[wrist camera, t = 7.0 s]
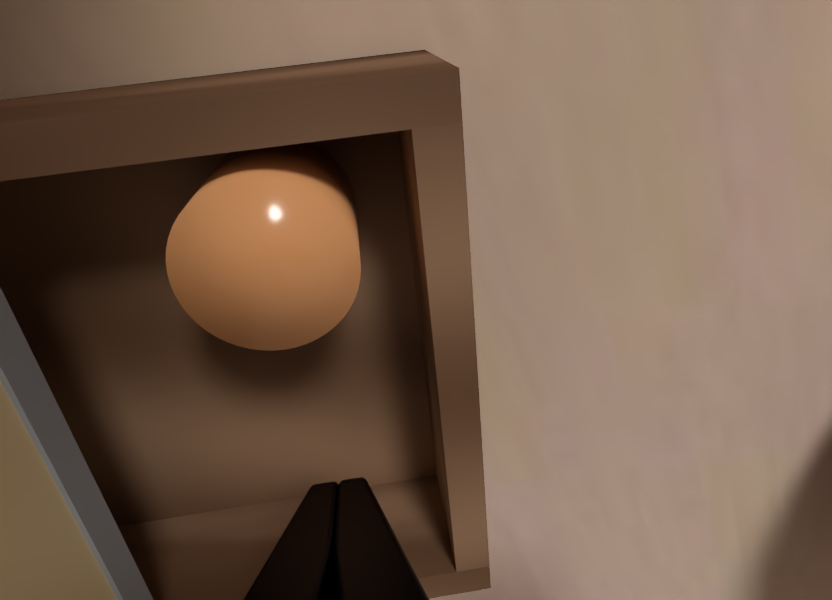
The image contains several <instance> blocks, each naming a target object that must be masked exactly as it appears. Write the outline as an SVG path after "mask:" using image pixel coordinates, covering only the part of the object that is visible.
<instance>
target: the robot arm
mask: <svg viewBox="0 0 832 600" xmlns="http://www.w3.org/2000/svg"><path fill="white" fill-rule="evenodd" d="M243 600H429V598H428V596H427V594H426V592H425V590H424V588H423V586H422V585H421V583H420V581H419V579H418V577H417V575H416V573H415V571H414V569H413V567H412V566H411V564H410V562H409V560H408V558H407V556H406V554H405V552H404V550H403V548H402V547H401V545H400V543H399V541H398V539H397V537H396V535H395V533H394V531H393V529H392V527H391V526H390V524H389V522H388V520H387V518H386V516H385V514H384V512H383V510H382V508H381V507H380V505H379V503H378V501H377V499H376V497H375V495H374V493H373V491H372V489H371V488H370V486H369V484H368V482H367V480H366V479H365V478H363V477H359V478H352V479H346V480H342V481H340V483H339V484H338V483H337V482H335V481H332V482H326V483H320V484H314V485H312V486H311V487H310V489H309V490H308V492H307V493H306V495H305V497H304V498H303V500H302V502H301V504H300V505H299V507H298V509H297V510H296V512H295V514H294V515H293V517H292V519H291V520H290V522H289V524H288V525H287V527H286V529H285V530H284V532H283V534H282V535H281V537H280V539H279V541H278V542H277V544H276V546H275V547H274V549H273V551H272V552H271V554H270V556H269V557H268V559H267V561H266V562H265V564H264V566H263V567H262V569H261V571H260V572H259V574H258V576H257V577H256V579H255V581H254V583H253V584H252V586H251V588H250V589H249V591H248V593H247V594H246V596H245V598H244V599H243Z"/></svg>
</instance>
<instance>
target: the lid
mask: <svg viewBox="0 0 832 600" xmlns="http://www.w3.org/2000/svg"><path fill="white" fill-rule="evenodd" d="M0 600H153V598H152V596H151V594H150V592H149V590H148V588H147V586H146V583H145V581H144V579H143V577H142V575H141V573H140V571H139V569H138V567H137V565H136V563H135V561H134V559H133V557H132V555H131V553H130V551H129V549H128V547H127V545H126V543H125V541H124V539H123V537H122V534H121V532H120V530H119V528H118V526H117V524H116V522H115V520H114V518H113V516H112V514H111V512H110V510H109V508H108V506H107V504H106V502H105V500H104V498H103V496H102V494H101V492H100V490H99V488H98V486H97V483H96V481H95V479H94V477H93V475H92V473H91V471H90V469H89V467H88V465H87V463H86V461H85V459H84V457H83V455H82V453H81V451H80V449H79V447H78V445H77V443H76V441H75V439H74V437H73V434H72V432H71V430H70V428H69V426H68V424H67V422H66V420H65V418H64V416H63V414H62V412H61V410H60V408H59V406H58V404H57V402H56V400H55V398H54V396H53V394H52V392H51V390H50V388H49V386H48V383H47V381H46V379H45V377H44V375H43V373H42V371H41V369H40V367H39V365H38V363H37V361H36V359H35V357H34V355H33V353H32V351H31V349H30V347H29V345H28V343H27V341H26V339H25V337H24V335H23V332H22V330H21V328H20V326H19V324H18V322H17V320H16V318H15V316H14V314H13V312H12V310H11V308H10V306H9V304H8V302H7V300H6V298H5V296H4V294H3V292H2V290H1V288H0Z"/></svg>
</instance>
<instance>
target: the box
mask: <svg viewBox="0 0 832 600" xmlns="http://www.w3.org/2000/svg"><path fill="white" fill-rule="evenodd" d="M308 142H309V143H311V144H313V145H315V146H317V147H319V148H320V149H322V150H323V151H325V152H326V153H327V154H329V155H330V156H331V157H332V158H333V159H334V160H335V161H336V162H337V163H338V164H339V165H340V167H341V168H342V169H343V171H344V172H345V174H346V175H347V177H348V179H349V181H350V183H351V186H352V189H353V191H354V196H355V200H356V211H357V224H358V237H359V249H360V262H361V276H360V283H359V288H358V292H357V294H356V297H355V300H354V302H353V304H352V306H351V308H350V309H349V311H348V312H347V314H346V315H345V316H344V318H343V319H342V320H341V321H340V322H339V323H338V324H337V325H336V326H335V327H334V328H333V329H332V330H330V331H329V332H328V333H326V334H325V335H323V336H322V337H320V338H318V339H316V340H314V341H312V342H310V343H308V344H305V345H302V346H299V347H295V348H290V349H285V350H275V351H268V350H255V349H248V348H244V347H240V346H236V345H234V344H231V343H228V342H226V341H224V340H222V339H219V338H217V337H215V336H214V335H212V334H211V333H209V332H207V331H206V330H205V329H203V328H202V327H201V326H200V325H198V324H197V323H196V322H195V321H194V320H193V319H192V318H191V317H190V316H189V315H188V314H187V313H186V311H185V310H184V309H183V307H182V306H181V305H180V303H179V301H178V300H177V298H176V296H175V295H174V292H173V290H172V287H171V285H170V282H169V278H168V275H167V269H166V246H167V241H168V237H169V234H170V231H171V228H172V226H173V224H174V222H175V220H176V219H177V217H178V215H179V214H180V212H181V211H182V210H183V209H184V207H185V206H186V205H187V203H188V202H189V201H190V200H191V198H192V197H193V196H194V194H195V193H196V192H197V191H198V189H199V188H200V187H201V185H202V184H203V183H204V181H205V180H206V179H207V178H208V176H209V175H210V174H211V172H212V171H213V170H214V169H215V167H216V166H217V165H218V163H219V162H220V161H221V160H222V158H223V157H224V156H225V155H226V154H227V153H229V152H237V151H244V150H252V149H260V148H268V147H276V146H284V145H292V144H300V143H308ZM0 288H1V290H2V292H3V294H4V296H5V298H6V300H7V302H8V304H9V306H10V308H11V310H12V312H13V314H14V316H15V318H16V320H17V322H18V324H19V326H20V328H21V330H22V332H23V335H24V337H25V339H26V341H27V343H28V345H29V347H30V349H31V351H32V353H33V355H34V357H35V359H36V361H37V363H38V365H39V367H40V369H41V371H42V373H43V375H44V377H45V379H46V381H47V383H48V386H49V388H50V390H51V392H52V394H53V396H54V398H55V400H56V402H57V404H58V406H59V408H60V410H61V412H62V414H63V416H64V418H65V420H66V422H67V424H68V426H69V428H70V430H71V432H72V434H73V437H74V439H75V441H76V443H77V445H78V447H79V449H80V451H81V453H82V455H83V457H84V459H85V461H86V463H87V465H88V467H89V469H90V471H91V473H92V475H93V477H94V479H95V481H96V483H97V486H98V488H99V490H100V492H101V494H102V496H103V498H104V500H105V502H106V504H107V506H108V508H109V510H110V512H111V514H112V516H113V518H114V520H115V522H116V524H117V526H118V528H119V530H120V532H121V534H122V537H123V539H124V541H125V543H126V545H127V547H128V549H129V551H130V553H131V555H132V557H133V559H134V561H135V563H136V565H137V567H138V569H139V571H140V573H141V575H142V577H143V579H144V581H145V583H146V586H147V588H148V590H149V592H150V594H151V596H152V598H153V600H243V599H244V598H245V596H246V594H247V593H248V591H249V589H250V588H251V586H252V584H253V583H254V581H255V579H256V577H257V576H258V574H259V572H260V571H261V569H262V567H263V566H264V564H265V562H266V561H267V559H268V557H269V556H270V554H271V552H272V551H273V549H274V547H275V546H276V544H277V542H278V541H279V539H280V537H281V535H282V534H283V532H284V530H285V529H286V527H287V525H288V524H289V522H290V520H291V519H292V517H293V515H294V514H295V512H296V510H297V509H298V507H299V505H300V504H301V502H302V500H303V498H304V497H305V495H306V493H307V492H308V490H309V489H310V487H311V486H312V485H314V484H320V483H326V482H332V481H335V482H337V483H338V484H339V483H340V481H342V480H346V479H352V478H359V477H363V478H365V479H366V480H367V482H368V484H369V486H370V488H371V489H372V491H373V493H374V495H375V497H376V499H377V501H378V503H379V505H380V507H381V508H382V510H383V512H384V514H385V516H386V518H387V520H388V522H389V524H390V526H391V527H392V529H393V531H394V533H395V535H396V537H397V539H398V541H399V543H400V545H401V547H402V548H403V550H404V552H405V554H406V556H407V558H408V560H409V562H410V564H411V566H412V567H413V569H414V571H415V573H416V575H417V577H418V579H419V581H420V583H421V585H422V586H423V588H424V590H425V592H426V594H427V596H428V598H435V597H440V596H446V595H452V594H458V593H463V592H469V591H475V590H481V589H487V588H491V586H490V570H489V553H488V537H487V520H486V504H485V487H484V471H483V454H482V438H481V422H480V405H479V389H478V372H477V356H476V339H475V323H474V306H473V290H472V274H471V257H470V241H469V224H468V208H467V191H466V175H465V158H464V142H463V126H462V109H461V93H460V76H459V68H458V67H456V66H454V65H452V64H450V63H448V62H446V61H445V60H443V59H441V58H439V57H437V56H435V55H433V54H431V53H429V52H428V51H426V50H420V51H411V52H403V53H394V54H386V55H377V56H369V57H361V58H352V59H344V60H335V61H327V62H318V63H310V64H302V65H293V66H285V67H276V68H268V69H259V70H251V71H243V72H234V73H226V74H217V75H209V76H201V77H192V78H184V79H175V80H167V81H158V82H150V83H142V84H133V85H125V86H116V87H108V88H99V89H91V90H83V91H74V92H66V93H57V94H49V95H40V96H32V97H24V98H15V99H7V100H0Z"/></svg>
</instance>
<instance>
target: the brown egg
mask: <svg viewBox="0 0 832 600" xmlns="http://www.w3.org/2000/svg"><path fill="white" fill-rule="evenodd" d="M166 269H167V275H168V278H169V282H170V285H171V287H172V290H173V292H174V295H175V296H176V298H177V300H178V301H179V303H180V305H181V306H182V307H183V309H184V310H185V311H186V313H187V314H188V315H189V316H190V317H191V318H192V319H193V320H194V321H195V322H196V323H197V324H198V325H200V326H201V327H202V328H203V329H205V330H206V331H207V332H209V333H211V334H212V335H214V336H215V337H217V338H219V339H222V340H224V341H226V342H228V343H231V344H234V345H236V346H240V347H244V348H248V349H255V350H268V351H275V350H285V349H290V348H295V347H299V346H302V345H305V344H308V343H310V342H312V341H314V340H316V339H318V338H320V337H322V336H323V335H325V334H326V333H328V332H329V331H330V330H332V329H333V328H334V327H335V326H336V325H337V324H338V323H339V322H340V321H341V320H342V319H343V318H344V316H345V315H346V314H347V312H348V311H349V309H350V308H351V306H352V304H353V302H354V300H355V297H356V294H357V292H358V288H359V283H360V276H361V262H360V249H359V237H358V224H357V211H356V200H355V196H354V191H353V189H352V186H351V183H350V181H349V179H348V177H347V175H346V174H345V172H344V171H343V169H342V168H341V167H340V165H339V164H338V163H337V162H336V161H335V160H334V159H333V158H332V157H331V156H330V155H329V154H327V153H326V152H325V151H323V150H322V149H320V148H319V147H317V146H315V145H313V144H311V143H309V142H308V143H300V144H292V145H284V146H276V147H268V148H260V149H252V150H244V151H237V152H229V153H227V154H226V155H225V156H224V157H223V158H222V160H221V161H220V162H219V163H218V165H217V166H216V167H215V169H214V170H213V171H212V172H211V174H210V175H209V176H208V178H207V179H206V180H205V181H204V183H203V184H202V185H201V187H200V188H199V189H198V191H197V192H196V193H195V194H194V196H193V197H192V198H191V200H190V201H189V202H188V203H187V205H186V206H185V207H184V209H183V210H182V211H181V212H180V214H179V215H178V217H177V219H176V220H175V222H174V224H173V226H172V228H171V231H170V234H169V237H168V241H167V246H166Z"/></svg>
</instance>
